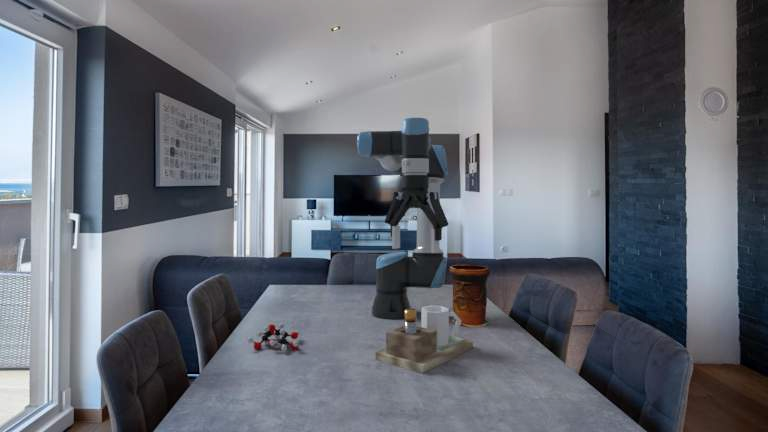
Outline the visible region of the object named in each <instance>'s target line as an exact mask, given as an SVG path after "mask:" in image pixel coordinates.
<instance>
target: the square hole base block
mask: <svg viewBox="0 0 768 432" xmlns="http://www.w3.org/2000/svg"><path fill="white" fill-rule="evenodd" d="M385 334H386V335H385V348H382V349H379V350H377V351H375V360H377V361H380V362H383V363H386V364H390V365H394V366H397V367H400V368H402V369H406V370H410V371H413V372H416V373H418V374H419V373H420V374H424V373H426V372H428V371H430V370H432V369H434V368H436V367H438V366H440V365H442V364H444V363H446V362H447V361H450V360H452V359H454V358H456V357H457V356H459V355H461V354H463V353H465V352H467V351H469V350H471V349H472V348H474V340H470V339H466V338H463V337H458V336H452V335H449V342H448V344H447V345H443V346H437V331H435V330H431V329H427V328H422V327H421V326H418V325H417V334H415V335H410V334H406V333H405V325H402V326H400V327H396V328H395V329H394V328H393V329H390V330H388V331H386V332H385Z"/></svg>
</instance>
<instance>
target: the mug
mask: <svg viewBox="0 0 768 432" xmlns="http://www.w3.org/2000/svg"><path fill="white" fill-rule="evenodd" d="M420 310H421V313H420V314H421V316H420V317H421V318H420V320H421V326H420V327H422V328H427V329H431V330H435V331H437V346H443V345H447V344H448V342H449V333H450V331H449V329H450V328H449V327H450V325H449V324H450V323H449V322H450V318H449V317H453V319H456V323H455V324H454V326H453V328H452V331H451V332H452V334H453V335H456V336H458V334H459V331H460V326H461V320H460V319H459V317H458V316H457V315H456V314H455V313H454V311H450V309H449V307H445V306H443V305H426V306H422V308H421V309H420Z"/></svg>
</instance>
